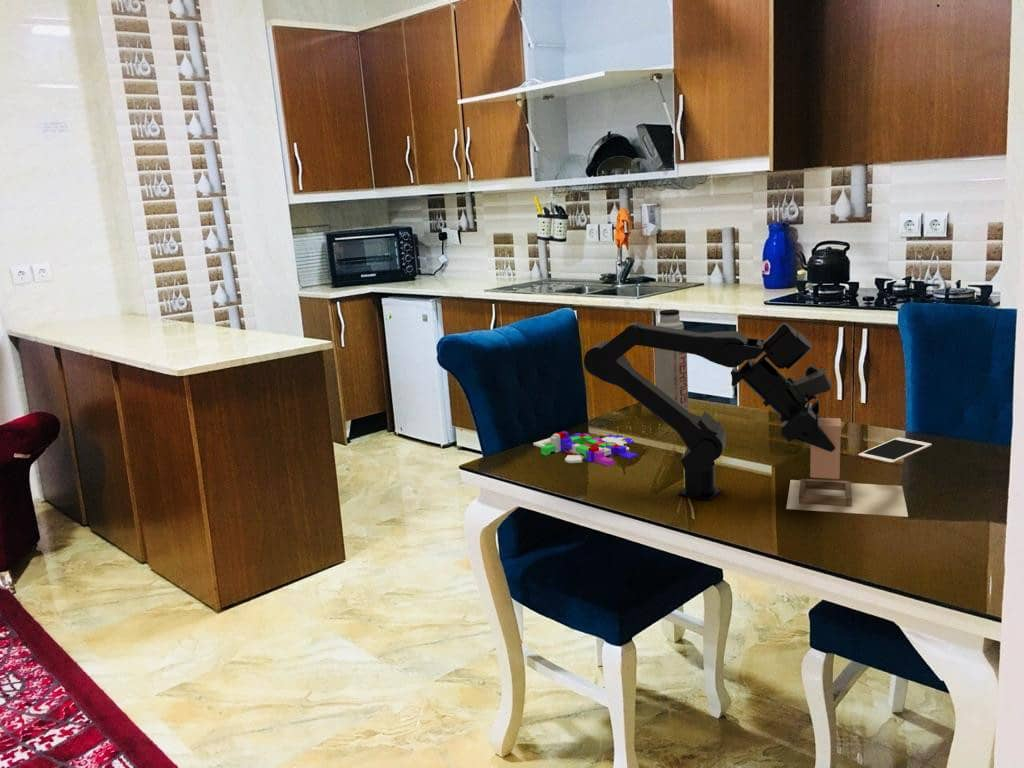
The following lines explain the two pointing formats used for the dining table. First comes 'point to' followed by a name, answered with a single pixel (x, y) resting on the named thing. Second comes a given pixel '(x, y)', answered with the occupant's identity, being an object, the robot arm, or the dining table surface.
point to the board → (846, 497)
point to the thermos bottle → (672, 364)
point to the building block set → (586, 447)
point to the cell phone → (894, 450)
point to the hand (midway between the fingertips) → (833, 445)
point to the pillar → (823, 460)
